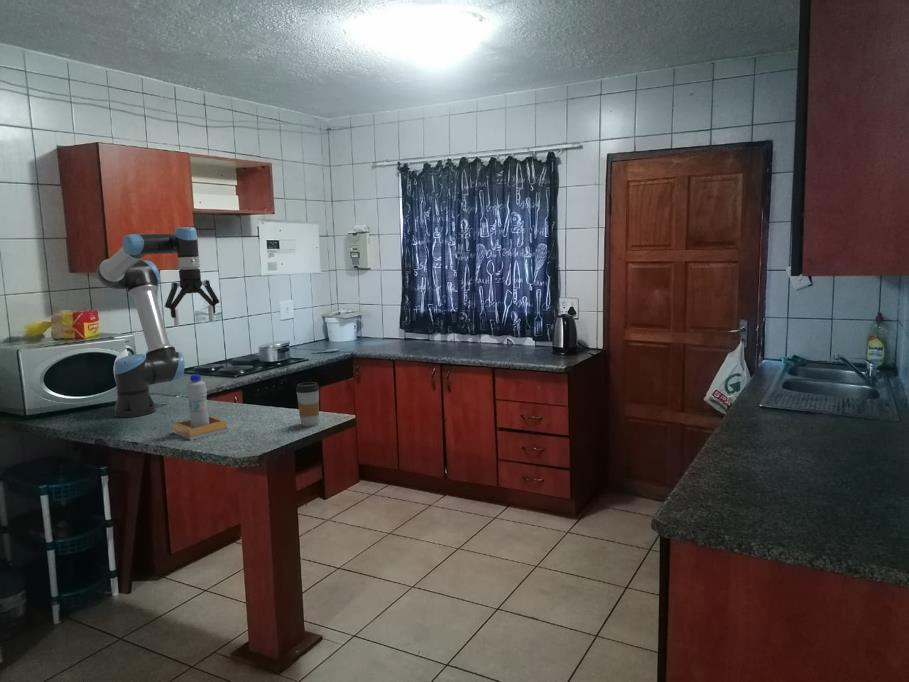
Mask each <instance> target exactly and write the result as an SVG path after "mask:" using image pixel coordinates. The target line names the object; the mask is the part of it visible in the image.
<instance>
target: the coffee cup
mask: <svg viewBox="0 0 909 682" xmlns="http://www.w3.org/2000/svg"><path fill="white" fill-rule="evenodd" d="M319 387H320V386H319V384H318V382H314V381H313V382H312V381H308V382H301V383H298V384H297V385H296V388H295V391H296V395H297V396H296V397H297V406H298V414H299V418H300V423H301V425H302V426H303V427H313V426H317V425H318V424H319V422H320V421H319V420H320V416H319V415H320V392H319V391H320V388H319Z"/></svg>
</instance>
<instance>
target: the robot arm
mask: <svg viewBox="0 0 909 682" xmlns="http://www.w3.org/2000/svg"><path fill="white" fill-rule="evenodd" d="M198 239H199V238H198V234H197V229H196V228H195V227H193V226H192V227H188V226H187V227H176V228H175V230H174V233H133V234H125V235H124V237H123V238H122V242H121V243H122V246H121V247H120V248H119V250H118V251H117V252H116V253H115V254H113V255H112V256H111V257H110V258H107V259H104V260H103V261H101V263H99V264H98V267H97V269H96V276H97V279H98V280H99V282H100V283H101V284H102V285H103V286H105V287H107V288H109V289H112V290H126V291H127V294H128V295H129V296H131V297H133V301H134V303H135V307H136V311H137V315H138V319H139V321H140V325H141V328H142V332H143V333H142V334H143V335H144V340H145V343H146V347H147V351H146V352H145V354H144V353H137V354H130V355H127V356H123V357H120V358H118V359H117V360H115V362H114V371H113V372H114V376H115V384H116V394H117V398H116V401H115V406H114V409H113V410H114V417H117V418H135V417H142V416H145V415H146V416H147V415H149V414H153V413H154V412H156V411H157V408H156V403H155V402H154V400H153V397H152V395H151V393H150V388H149V386H150V385H155V384H157V385H158V384H161V383H168V382H173V381H176V380H180V379H181V378H182V377H183V375H184V372H185V367H186V366H185V363H186V362H185V358H184V356H183V354H182V352H180V351H176V349H175V346H173V345H171V344H170V341H169V338H168V334H167V331H166V327H165V323H164V320H163V317H162V314H161V309H160V305H159V303H158V302H159V301H158V300H157V299H158V298H157V296H156V291H157V290H158V286H159V285H160V284H161V283H160V282H161V278H160V277H161V276H160V275H161V274H160V271H159V269H158V267H157V266H156V264H155V263H154V262H153V261H151V260H145V259H144V260H143V258H144V257H145V256H147V255H159V254H160V255H162V254H163V255H164V254H165V255H166V254H168V255H169V254H170V255H171V254H173V255H175V254H177V265H178V268H179V269H178V275H179V282H171V288H170V291H169V294H168V297H167V299H166V301H165V304H164V308H167V309H169V310H170V316H171V318H172V319H173V323H174V324H173V325H174V327H180V320H179V309H178V308H177V307H178V305H179V304H180V302H181V301H182V299H183V298H184V297H185V296H186V295H187V294H196V293H197V294H199V295H200V296H201V297H202V298H203V299H204V300H205V302H207V303H208V304H209V305H207V311H208V312H207V313H208V322H209V323H212V324H213V323H215V317H214V314H216V305H217V304H219V303H220V300H219V298H218V296H217V295H216V293H215V291H214V289H213V287H211V282H210V280H208V279H207V280H205V279H204V280H202V279H201V278H202V275H201V270H200V269H199V268H200V265H201V264H200V255H199V244H198V243H199V242H198ZM202 286H203V287H204V288H205V290H206V291H207V293H206V292H205V291H204V290H203V289H202ZM179 287H180V290H179V292H178V294H177V295H176V293H177V291H178V289H179Z"/></svg>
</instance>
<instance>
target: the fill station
mask: <svg viewBox="0 0 909 682" xmlns="http://www.w3.org/2000/svg"><path fill="white" fill-rule="evenodd" d="M208 416H209V424H207V425H203V426H198V427H194V428H192V427H191V422H190V419H185V420H181V421H176V422H173V429H172V433H173V434H175V435H177V436H180V437H182V438H184V439H186V438H187V439H186V440H188V439H189V441H193V439H195V440H197V439H198V438H199V439H201V438H202V437H203V438H206V436H207V437H212V436H215V434H216V435H219V434H220V435H221V434H223V433H228V432H229V430H230V429H229V427H227V421H226V420H224V419H221V418H218V417H216V416H213V415H209V414H208Z"/></svg>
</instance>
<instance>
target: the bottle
mask: <svg viewBox="0 0 909 682" xmlns="http://www.w3.org/2000/svg"><path fill="white" fill-rule="evenodd" d="M186 395H187V398H188V405H189V416H190V418H189V420H190V422H191V427H192V428H194V427H198V426H203V425H207V424H209V416H208V415H209V411H208V399H207V396H208V390H207V386H206V382H204V381H203V380H202V379H201V375H200V374H197V373H195V374H191V375H190V382H189V383H187V388H186Z"/></svg>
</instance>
